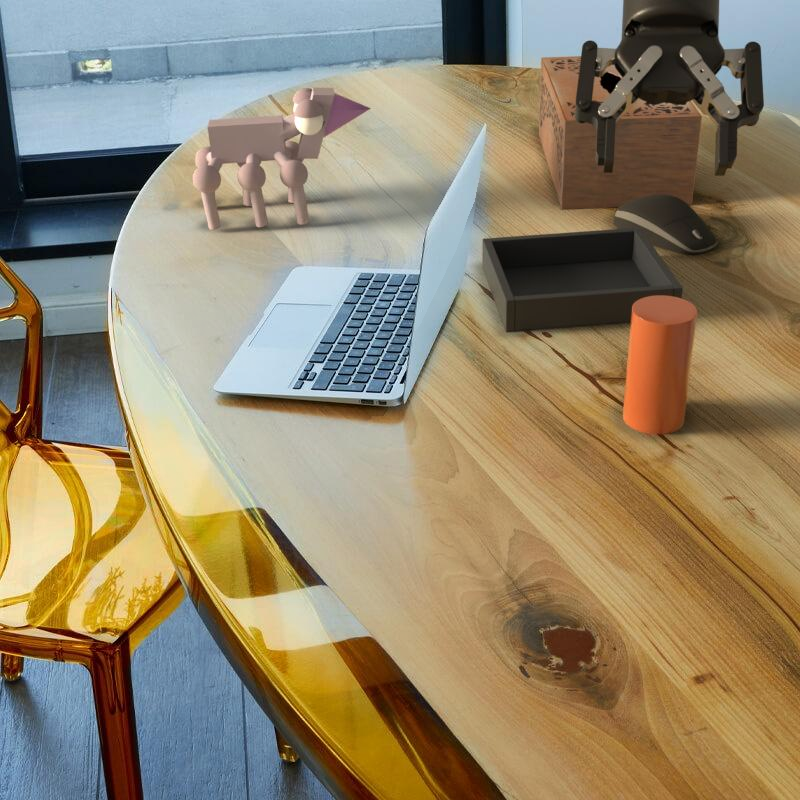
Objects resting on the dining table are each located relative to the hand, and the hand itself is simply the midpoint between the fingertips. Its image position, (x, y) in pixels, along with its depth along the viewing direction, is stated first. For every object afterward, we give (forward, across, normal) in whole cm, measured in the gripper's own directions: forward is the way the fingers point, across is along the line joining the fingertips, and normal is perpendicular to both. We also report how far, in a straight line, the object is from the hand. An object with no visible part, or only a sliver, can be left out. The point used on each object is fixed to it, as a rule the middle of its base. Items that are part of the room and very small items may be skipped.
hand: (664, 170), depth 83 cm
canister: (+20, 0, +4) cm, 20 cm away
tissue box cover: (-21, -3, +44) cm, 49 cm away
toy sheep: (-8, -39, +32) cm, 51 cm away
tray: (+5, -6, +19) cm, 20 cm away
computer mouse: (-6, +2, +29) cm, 30 cm away
